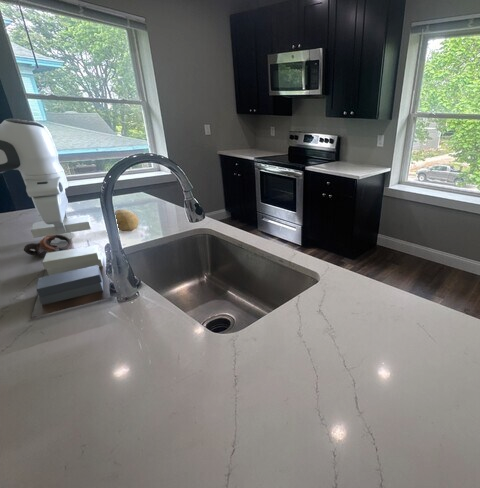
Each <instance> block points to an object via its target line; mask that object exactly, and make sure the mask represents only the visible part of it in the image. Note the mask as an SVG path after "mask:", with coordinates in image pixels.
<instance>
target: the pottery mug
mask: <svg viewBox="0 0 480 488" xmlns="http://www.w3.org/2000/svg"><path fill="white" fill-rule="evenodd" d="M55 238H59V239H60V240H66V241H65V242H66V243H67V244H66V245H64V246H61V247H59V245H58V244H52V243H51V241H52V240H54V239H55ZM56 248H58V250H56ZM69 249H73V244H72V240H71V239H69V238H67V237H65V236H63V235H50V236H43V237H42V239H41V240H40V241H39V242H35V243H31V242H30V243H28V244H26V245H24V247H23V252H25V253H26V254H27V255H29V256H35V257H40V254H41V253H43V252H44V251H45V252H47V253H50V252H57V251H63V250H69Z"/></svg>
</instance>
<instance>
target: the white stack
mask: <svg viewBox="0 0 480 488" xmlns="http://www.w3.org/2000/svg"><path fill="white" fill-rule="evenodd" d="M101 253H102V251H101V249H100V246H99V244H96V245H89V246H82V247H77V248H71V249H69V250H63V251H59V250H58V251H57V252H46V254H45V255H44V258H43V259H42V261H41V263H42V266H43V268H44V270H46V269H47V272H48V274H49V276H50V275H54V274H59V273H63V272H68V271H72V270H77V269H82V268H86V267H91V266H95V265H98V266H99V267H101V266H103V257H102V254H101Z"/></svg>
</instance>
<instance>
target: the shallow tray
mask: <svg viewBox="0 0 480 488" xmlns="http://www.w3.org/2000/svg"><path fill="white" fill-rule="evenodd" d="M105 252H106V251H101V254H102V257H103V266H101V267H99V269H100V272H101V276H102V279H103V291H99V292H95V293H91V294H87V295H83V296H78V297H74V298H70V299H66V300H62V301H58V302H53V303H49V304H45V305H41V302H40V300H39V298H38V297H39V294H38V293H37V296H36V300H35V302H34V306H33V310H32V312H31V316H30V318H31V319H32V318H36V317H40V316H43V315H48V314H51V313H55V312H59V311H63V310H67V309H72V308H76V307H79V306H83V305H87V304H91V303H95V302H99V301H103V300H107V299H110V298H111V292H110V289H111V288H110V277H109V278H108V277H107V276H106V274H105V265H106V256H105ZM45 276H49V274H48V272H47V269H44V274H43V277H45Z"/></svg>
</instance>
